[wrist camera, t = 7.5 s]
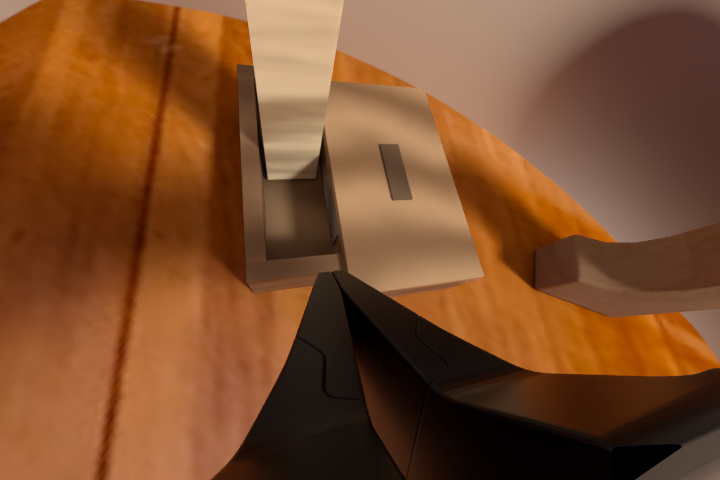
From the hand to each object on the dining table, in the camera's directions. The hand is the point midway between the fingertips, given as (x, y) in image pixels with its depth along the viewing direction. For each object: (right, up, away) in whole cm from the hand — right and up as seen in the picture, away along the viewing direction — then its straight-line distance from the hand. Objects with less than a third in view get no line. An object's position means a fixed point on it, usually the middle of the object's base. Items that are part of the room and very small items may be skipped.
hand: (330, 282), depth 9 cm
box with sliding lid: (-1, +6, +16) cm, 17 cm away
